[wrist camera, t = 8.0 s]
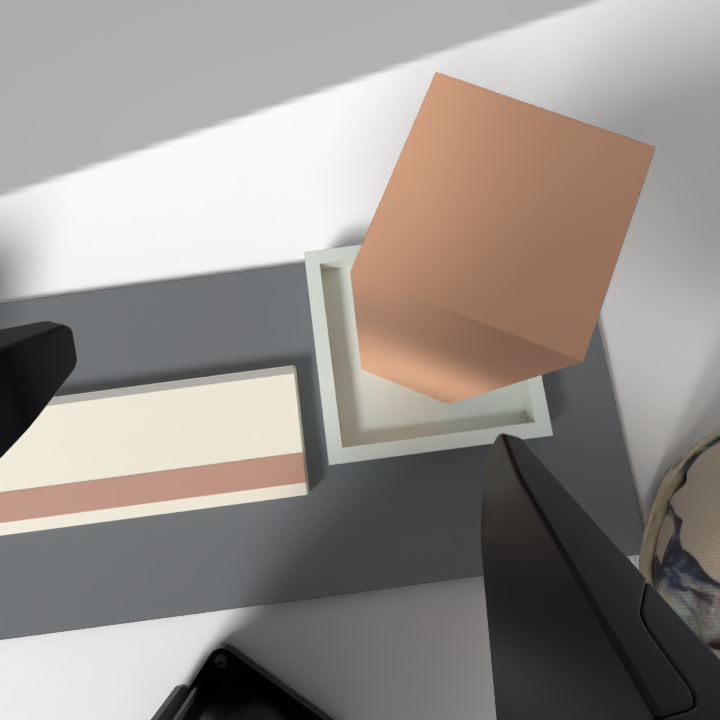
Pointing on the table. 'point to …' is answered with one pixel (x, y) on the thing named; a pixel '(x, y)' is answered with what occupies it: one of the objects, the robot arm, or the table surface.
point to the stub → (491, 243)
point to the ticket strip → (156, 451)
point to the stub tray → (397, 387)
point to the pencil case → (688, 540)
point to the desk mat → (284, 515)
